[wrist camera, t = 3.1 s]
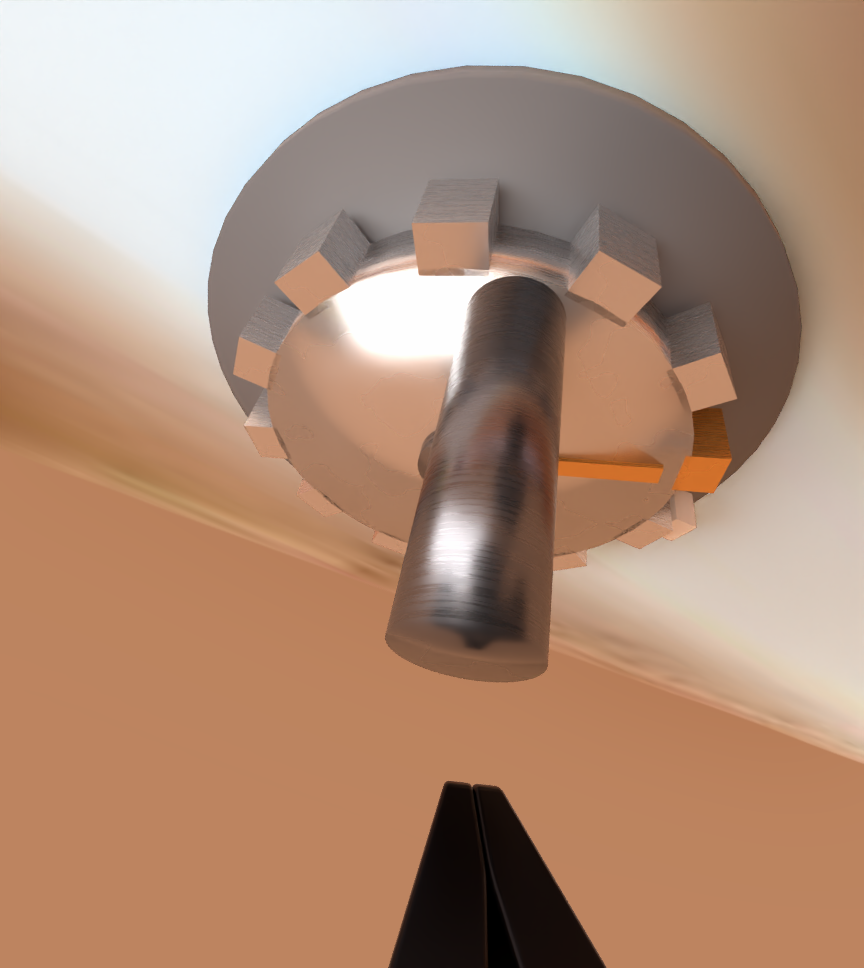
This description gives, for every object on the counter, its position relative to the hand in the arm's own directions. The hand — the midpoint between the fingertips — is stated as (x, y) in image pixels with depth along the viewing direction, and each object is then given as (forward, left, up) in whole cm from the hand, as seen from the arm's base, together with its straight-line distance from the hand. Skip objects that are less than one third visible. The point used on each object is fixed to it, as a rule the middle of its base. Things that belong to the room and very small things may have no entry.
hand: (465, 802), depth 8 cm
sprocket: (+2, +3, -12) cm, 12 cm away
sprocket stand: (+2, +3, -13) cm, 13 cm away
